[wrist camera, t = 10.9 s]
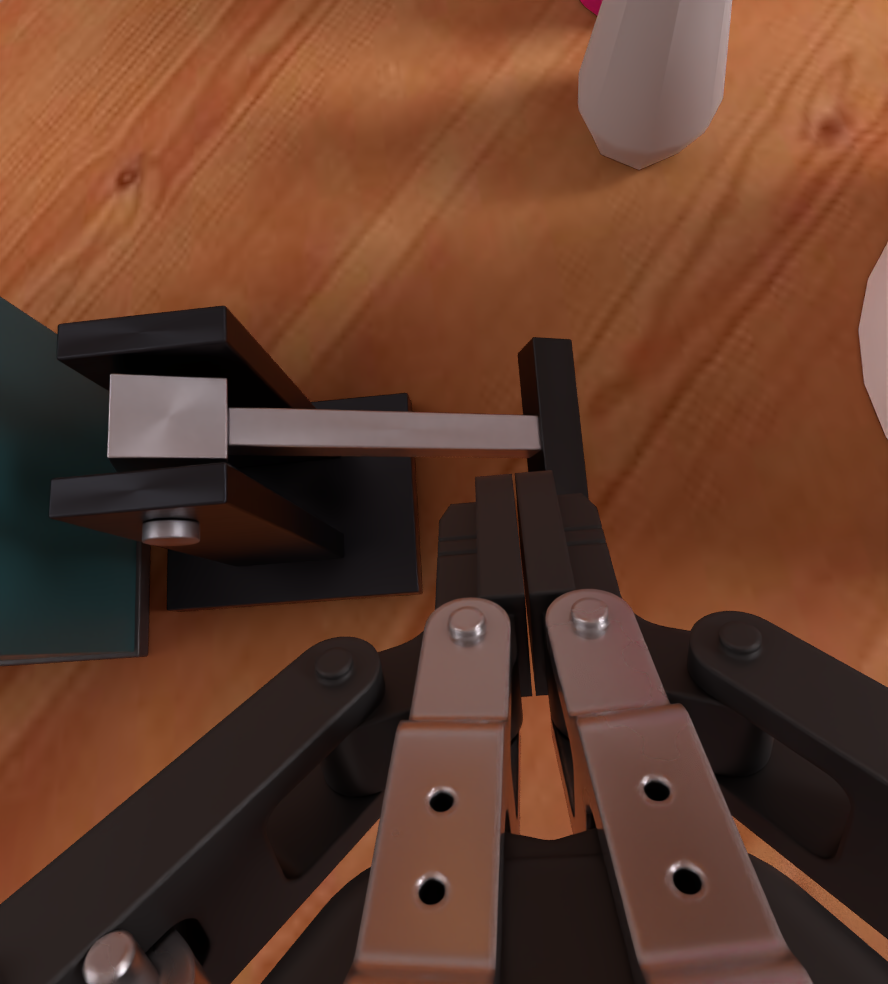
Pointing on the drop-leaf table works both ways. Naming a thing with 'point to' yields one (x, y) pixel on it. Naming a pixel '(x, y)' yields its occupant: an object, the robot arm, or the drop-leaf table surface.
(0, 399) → the toaster
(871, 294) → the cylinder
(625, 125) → the salt shaker
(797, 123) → the drop-leaf table surface
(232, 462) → the bracket
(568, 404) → the lever
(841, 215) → the drop-leaf table surface
